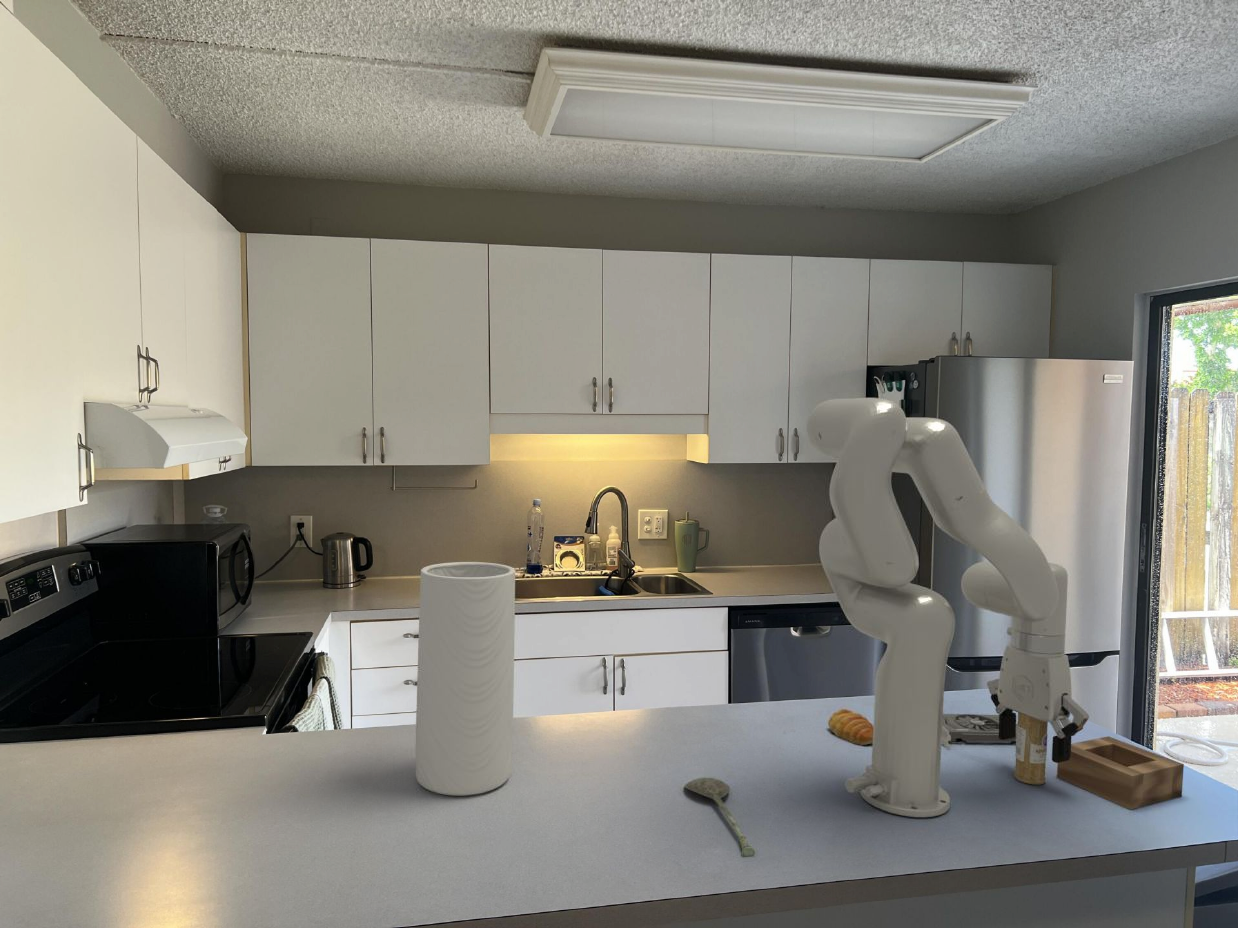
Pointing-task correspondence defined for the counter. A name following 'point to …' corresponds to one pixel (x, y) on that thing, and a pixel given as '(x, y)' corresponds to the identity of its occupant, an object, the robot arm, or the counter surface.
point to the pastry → (851, 727)
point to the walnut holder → (1122, 772)
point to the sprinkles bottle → (1030, 750)
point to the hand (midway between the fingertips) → (1032, 749)
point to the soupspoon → (716, 792)
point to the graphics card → (971, 729)
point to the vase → (465, 677)
